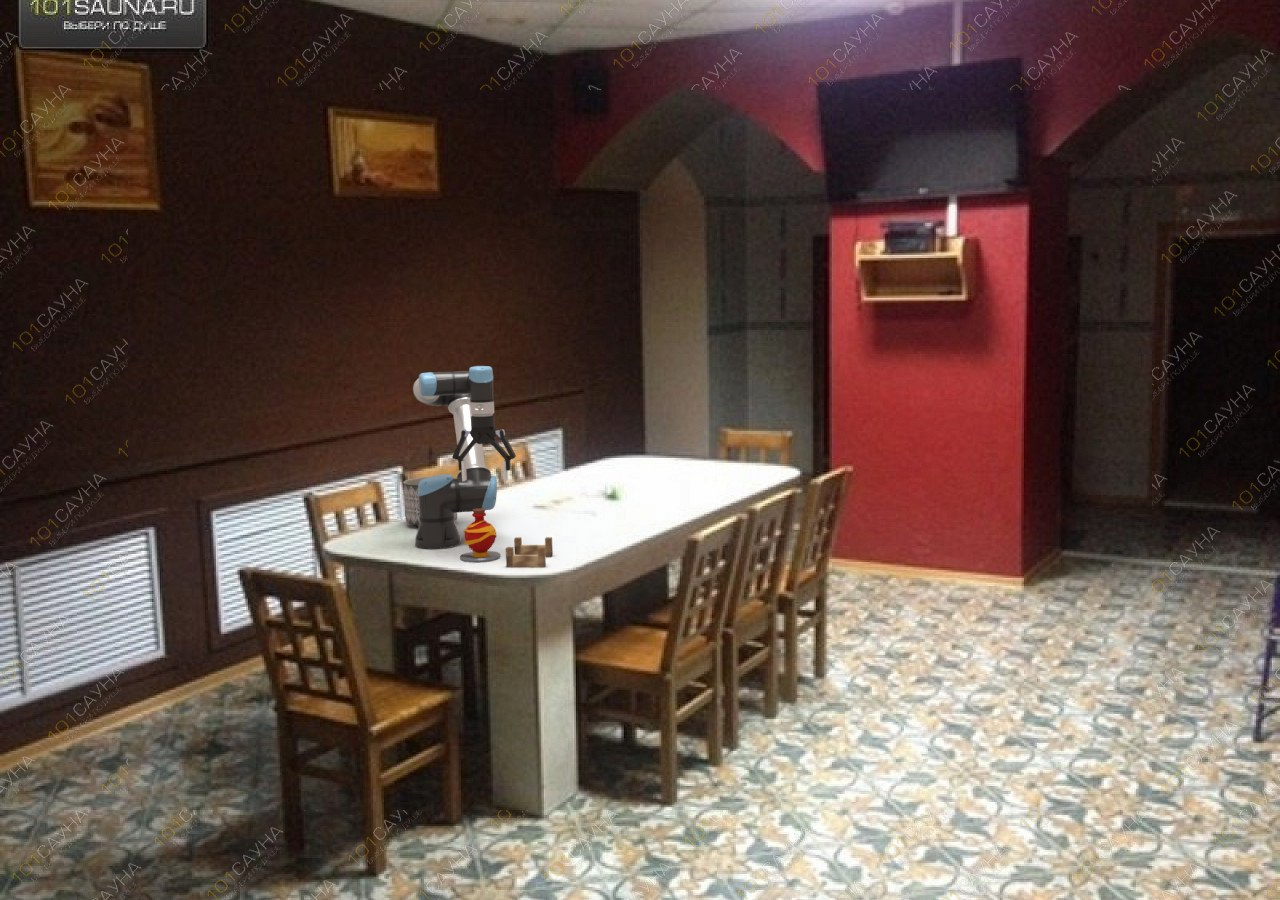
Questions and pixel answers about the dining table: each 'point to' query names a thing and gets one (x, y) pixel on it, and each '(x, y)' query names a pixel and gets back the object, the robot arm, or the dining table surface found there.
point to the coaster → (470, 558)
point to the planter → (413, 501)
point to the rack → (528, 554)
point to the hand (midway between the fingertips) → (485, 480)
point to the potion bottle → (479, 534)
